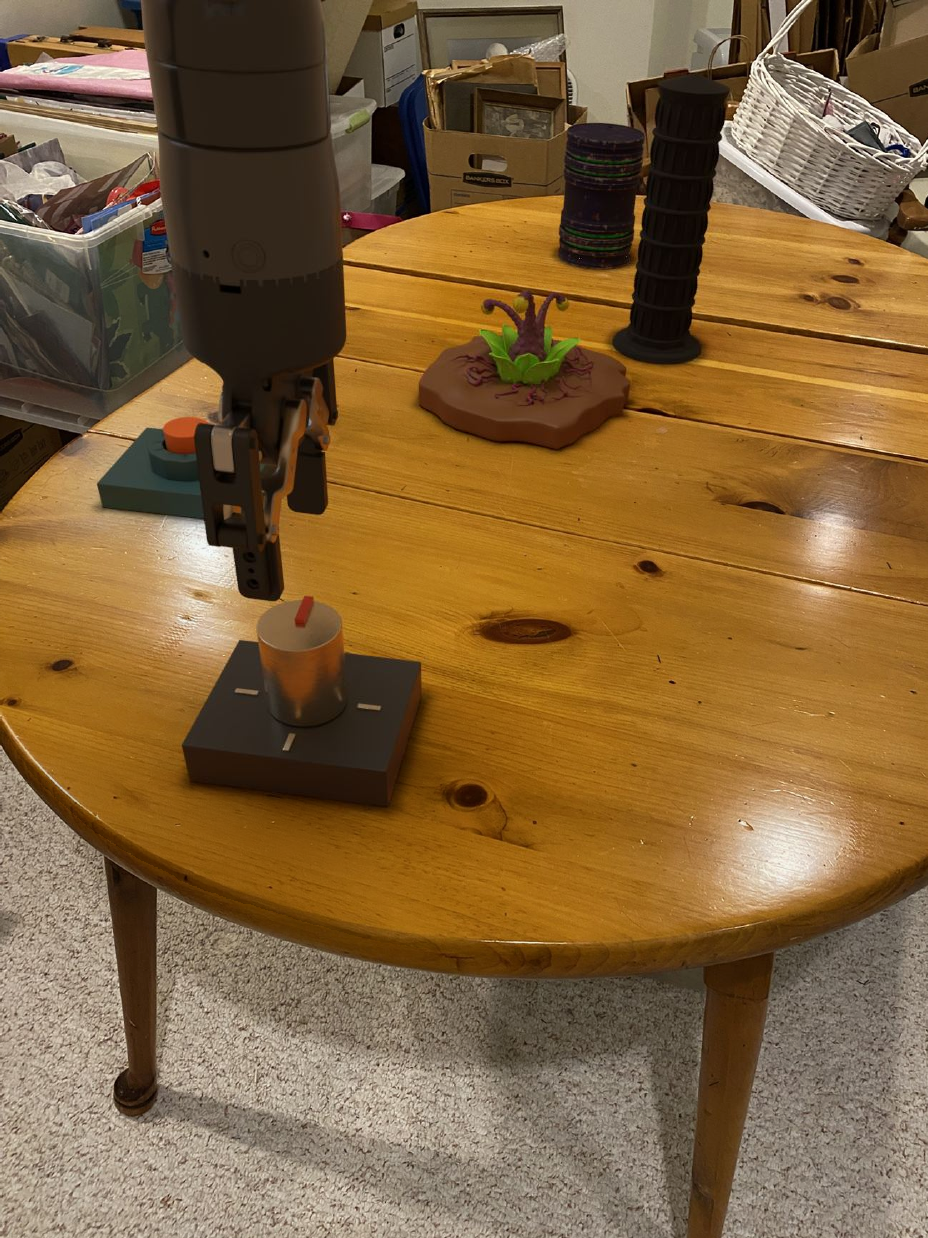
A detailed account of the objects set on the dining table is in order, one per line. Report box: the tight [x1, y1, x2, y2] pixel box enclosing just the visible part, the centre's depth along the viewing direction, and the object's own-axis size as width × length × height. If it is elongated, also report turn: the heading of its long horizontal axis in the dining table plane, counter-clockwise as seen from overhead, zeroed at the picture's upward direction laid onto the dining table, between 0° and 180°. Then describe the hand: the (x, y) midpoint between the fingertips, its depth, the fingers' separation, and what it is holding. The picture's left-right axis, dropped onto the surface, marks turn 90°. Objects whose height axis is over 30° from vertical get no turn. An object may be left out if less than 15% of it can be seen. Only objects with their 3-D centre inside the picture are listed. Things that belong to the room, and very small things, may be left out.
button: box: [162, 416, 209, 455], centre depth 83 cm, size 4×4×2 cm
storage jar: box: [557, 122, 646, 270], centre depth 131 cm, size 10×10×15 cm
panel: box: [181, 639, 422, 808], centre depth 63 cm, size 12×10×3 cm
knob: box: [255, 595, 348, 727], centre depth 60 cm, size 5×5×6 cm
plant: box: [418, 289, 631, 450], centre depth 98 cm, size 20×20×11 cm
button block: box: [96, 427, 278, 520], centre depth 85 cm, size 12×10×4 cm
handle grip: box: [611, 73, 731, 365], centre depth 105 cm, size 10×26×10 cm
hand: (286, 551), depth 56 cm, fingers open, 8 cm apart
